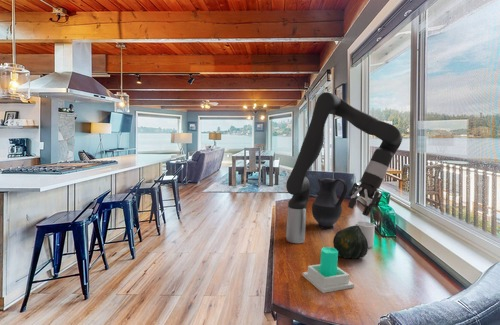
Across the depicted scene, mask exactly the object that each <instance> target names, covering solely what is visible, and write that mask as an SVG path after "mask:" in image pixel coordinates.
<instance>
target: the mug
mask: <svg viewBox="0 0 500 325" xmlns="http://www.w3.org/2000/svg"><path fill="white" fill-rule="evenodd" d="M354 226H359V227H360V229H361V231H362V232H363V234H364V235H365V237H366V239H367V242H368V249H371V248H373V246H374V241H375V228H376V225H375V224H374V223H373V222H369V221H361V220H360V221H358V220H357V221H356V222H355V225H354ZM370 247H371V248H370Z"/></svg>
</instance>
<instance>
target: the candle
mask: <svg viewBox="0 0 500 325" xmlns="http://www.w3.org/2000/svg"><path fill="white" fill-rule="evenodd" d="M338 257H339V256H338V251H337V250H336V249H335V248H334V246H333V247H331V246H324V247H321V250H320V260H319V261H320V263H319V264H320V274H322V275H323V276H324V277H329V276H336V275H337V267H338V260H339V259H338Z"/></svg>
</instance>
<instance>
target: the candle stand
mask: <svg viewBox="0 0 500 325" xmlns="http://www.w3.org/2000/svg"><path fill="white" fill-rule="evenodd" d="M302 276H303V277H304V278H305V279H306V280H307V281H308V283H311V284H312V285H313V286H314V287H315V288H316V289H317V290H318V291H319V292H321V293H322V294H326V293H331V292H335V291H337V292H338V291H342V290H348V289H353V288H355V284H354V283H353V282H352V281H351V280H350V274H349V273H348V272H346V271H345V270H343V269H342V268H340V267H339V266H337V275H336V276H329V277H324V276H323V275H322V274H320V263H319V264H312V265H311V264H310V265H308V266H307V271H304V272H302Z"/></svg>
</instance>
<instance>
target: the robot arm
mask: <svg viewBox="0 0 500 325" xmlns="http://www.w3.org/2000/svg"><path fill="white" fill-rule="evenodd" d="M330 115H333V116H337V117H339V118H342V119H343V120H346V121H347V122H349V123H350V124H351V125H353V127H355V128H357V129H358V130H360V131H362V132H363V133H365V134H367V135H369V136H374V137H376V138H377V139H379V140H380V141H381V143H380V145H379V146H378V147H377V148H376V149H375V150H374V152H373V154H372V156H371V158H370V160H369V162H368V164H367V165H366V168H365V170H364V171H363V174H362V176H361V178H360V184H359V183H356V182H354V183H353V185H352V187H351V189H350V191H349V193H348V196H349V197H350V200H349V202H348V205H347V207H348V208H350V209H351V210H352V209H354V207H355V205H356V202H357V200H359V199H361V198H363V199H365V201H366V205H365V207H364V209H363V211H362V215H363V216H365V217H368V216H369V215H370V212H371V211H372V209H373V208H378V207H379V205H380V202H381V200H382V197H383V195H384V194H383V193H382V192H380V191H379V190H378V189H380V188H381V185H382V183H383V181H384V179H385V176H386V174H387V171H388V169H389V166H390V164H391V162H392V158H393V157H394V155H395V154H396V152H398V149H399V148H400V146H401V145H402V142H403V135H402V132H401V130H400V129H399V128H398V127H396V125H393V124H391V123H388V122H385V121H383V120H380V119H378V118H376V117H374V116H373V115H371V114H368V113H366V112H364V111H361V110H360V109H357V108H355V107H353V106H352V105H351V104H349V103H348V102H346V101H345V100H344V99H342V98H341V97H340V96H338V95H337V94H335V93H331V92H329V91H328V92H327V91H325V92H322V93H321V94H319V96H318V97H317V99H316V101H315V104H314V108H313V112H312V116H311V119H310V123H309V125H308V128H307V131H306V134H305V137H304V139H303V141H302V144H301V147H300V149H299V153H298V155H297V158H296V160H295V164H294V165H293V167H292V170H291V172H290V174H289V176H288V178H287V180H286V183H285V184H286V185H285V188H286V191H287V193H288V194H290V195H292V196H291V198H290V200H288V203H287V220H286V230H285V231H286V233H285V237H286V241H287V242H289V243H292V244H302V243H305V241H306V240H305V239H306V238H305V237H306V223H307V205H308V203H309V199H310V191H311V190H310V189H311V185H310V180H309V179H308V177H307V176H306V174H308V171H309V169H310V168H311V166H312V165H314V163H315V162H316V160H317V159H318V158H319V156H320V153H321V151H322V148H323V146H324V142H325V126H326V123H327V119H328V117H329V116H330Z"/></svg>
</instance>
